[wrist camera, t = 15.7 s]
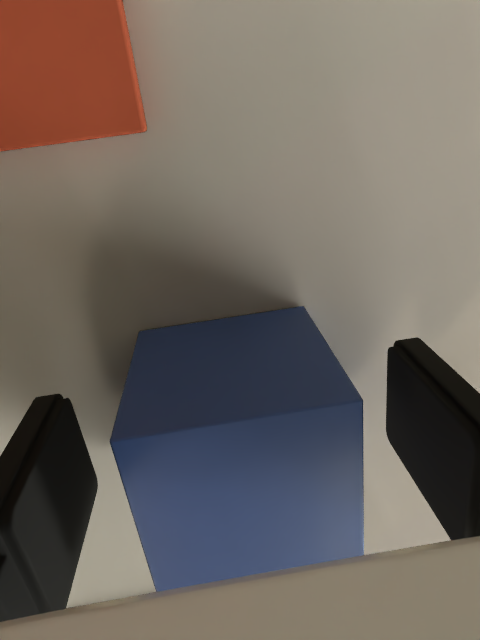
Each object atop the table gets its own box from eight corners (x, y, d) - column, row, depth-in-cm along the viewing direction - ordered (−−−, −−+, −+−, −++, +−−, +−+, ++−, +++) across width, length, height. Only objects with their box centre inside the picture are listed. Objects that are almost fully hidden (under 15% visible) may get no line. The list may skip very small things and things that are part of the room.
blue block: (170, 460, 13) (160, 606, 9) (138, 330, 12) (108, 440, 7) (312, 436, 14) (364, 569, 9) (303, 305, 12) (363, 399, 8)
